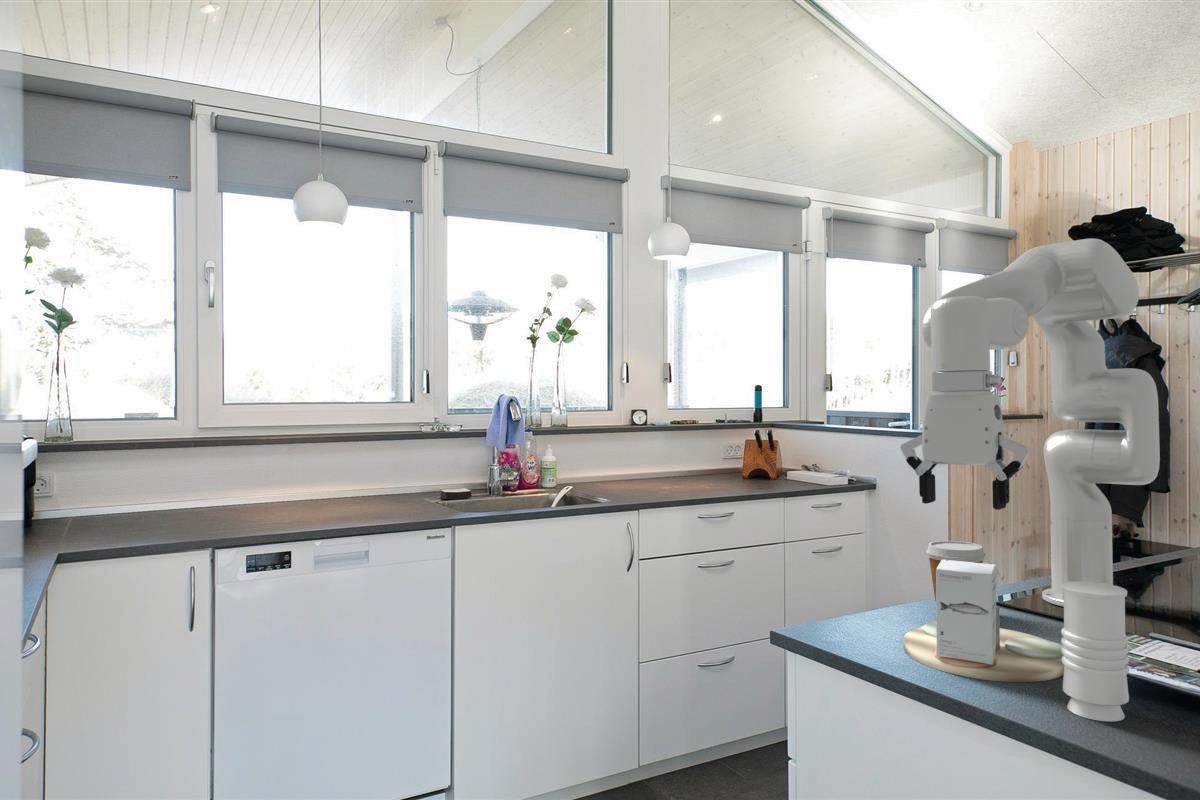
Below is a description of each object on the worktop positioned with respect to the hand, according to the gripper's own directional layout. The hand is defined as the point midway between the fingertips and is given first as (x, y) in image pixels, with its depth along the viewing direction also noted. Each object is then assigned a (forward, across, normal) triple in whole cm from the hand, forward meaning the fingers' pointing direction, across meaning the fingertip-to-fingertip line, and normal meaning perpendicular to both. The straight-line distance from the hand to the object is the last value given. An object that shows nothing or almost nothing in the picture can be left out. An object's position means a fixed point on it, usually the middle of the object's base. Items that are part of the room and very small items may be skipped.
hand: (963, 505), depth 108 cm
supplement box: (+21, 0, 0) cm, 21 cm away
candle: (+23, -17, +5) cm, 29 cm away
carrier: (+23, 0, -7) cm, 24 cm away
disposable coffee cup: (+23, +11, -26) cm, 36 cm away
